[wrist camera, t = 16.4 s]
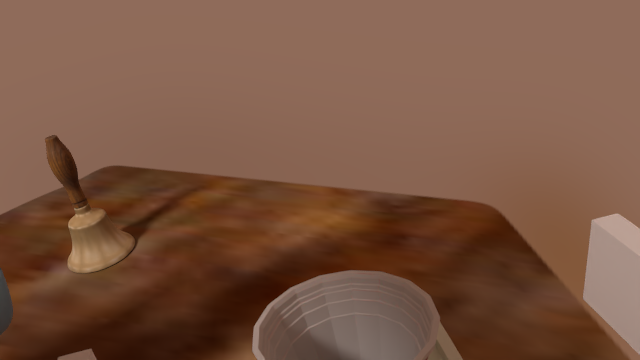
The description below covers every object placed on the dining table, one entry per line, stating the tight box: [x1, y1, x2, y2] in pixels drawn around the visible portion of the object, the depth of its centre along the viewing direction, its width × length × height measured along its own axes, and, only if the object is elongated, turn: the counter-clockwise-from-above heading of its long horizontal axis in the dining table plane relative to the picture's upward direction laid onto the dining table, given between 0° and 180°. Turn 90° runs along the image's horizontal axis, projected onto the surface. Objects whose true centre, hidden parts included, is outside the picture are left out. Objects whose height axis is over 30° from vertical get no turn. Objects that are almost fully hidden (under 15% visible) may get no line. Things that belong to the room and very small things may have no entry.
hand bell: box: [45, 135, 135, 273], centre depth 63 cm, size 8×8×16 cm
